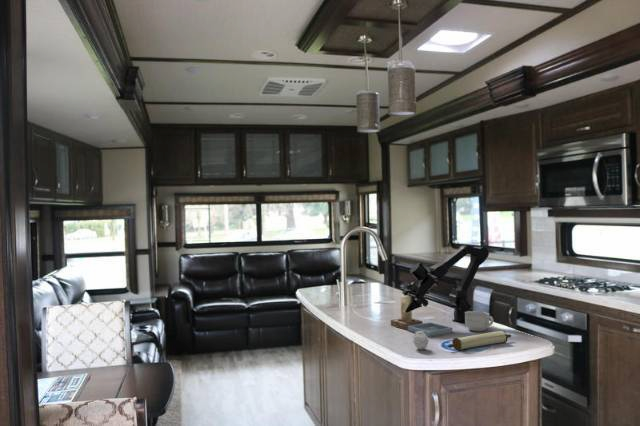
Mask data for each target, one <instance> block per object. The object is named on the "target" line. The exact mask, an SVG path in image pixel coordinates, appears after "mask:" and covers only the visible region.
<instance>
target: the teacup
mask: <svg viewBox="0 0 640 426" xmlns="http://www.w3.org/2000/svg"><path fill="white" fill-rule="evenodd" d="M464 324H465V326H466V327H467V328H468V330H470V331H473V332H484V331H486V330H487V329H488V328H489V327H490V326H492V325H493V324H494V318H493V316H491V315H490V313H489V312H484V311H473V310H472V311H470V310H468V312H465V322H464Z"/></svg>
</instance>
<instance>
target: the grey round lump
mask: <svg viewBox="0 0 640 426" xmlns="http://www.w3.org/2000/svg"><path fill="white" fill-rule="evenodd" d="M412 342H413V344H414V346H415V348H416V349H418V350H420V351H422V350H426V349H427V347H428V344H429V338H428V337H427V336H426V334H425V333H424V332H423V331H418V332H416V333H414V335H413V339H412Z"/></svg>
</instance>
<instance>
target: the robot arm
mask: <svg viewBox="0 0 640 426" xmlns="http://www.w3.org/2000/svg"><path fill="white" fill-rule="evenodd" d="M467 255H469V256H470V257H469V258H470V261H469V264H468V265H467V268H466V270H465V271H464V273H463V276H462V278H461V280H460V283H458V284H459V285H458V286H457V287H456V288H452V289H451V292H450V293H449V295H448V296H449V297H448V300H449V303H450V304H451V306H452V308H454V310H453V319H452V322H456V323H461V324H463V323H464V324H465V312H468V311H470V310H471V306H472V305H471V304H470V303H469V302H468V301H467V299H468V291H469V288H470V287H471V286H472V282H473V280H474V278H475V277H476V274H477V272H478V270H479V268H480V266H481V265H482V264H483V263H485V261H486V260H487V258H488V257H489V255H490V252H489V249H488V248H487V247H485V246H474V247H473V246H472V247H471V246H469V245H461V246H460V247H459V248H457V250H456V251H454V252H453V253H451V254H450V255H449V256H448V257H446V258H445V259H444V260H442V261H440V262H438V263H435V264H433V265H431V266H430V267H429V268H425V266H424V265H423V263H421V262H418V263H416V264H415V265H413V266H412V267H410V270H409V273H410V274H411V275H412V276H413V277H414V278H415V279H416V280H417V281H419V283H416V282H414V281H412V282H408V281H404V284H403V286H402V288H403V289H404V290H403V291H401V294H402V295H403V296H411V303H410V304H409V306H408V307H407V309H406V311H405V312H406V313H408V312H410V311H412V312H413V311H414V310H417V309H419V308H422V307H425V308H427V306H428V305H429V301H428V300H427V299H426V297H425V296H426V295H429V294H430V292H429V291H430V290H431V289H433V287H434V286H436V287H439V286H440V283H439V280H438V279H443V278H444V277H445V276H446V275H447V274H448V272H449V270H450V269H451V268H452V267H453V266H455V264H457V263H458V262H459V261H460V260H462V259H464V257H466V256H467Z"/></svg>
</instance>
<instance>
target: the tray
mask: <svg viewBox="0 0 640 426" xmlns="http://www.w3.org/2000/svg"><path fill="white" fill-rule="evenodd" d="M418 331H423V332H424V333H425V334H426V336H427V338H433V337H438V336H443V335H447V334H448V335H449V334H452V333H453V327H450V326H448V325H447V326H446V325H443V324H439V323H436V322H432V321H431V322H430V321H429V322H424V323H422V324H417V325H411V326H408V329H407V332H411V333H413V334H415V333H416V332H418Z"/></svg>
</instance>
